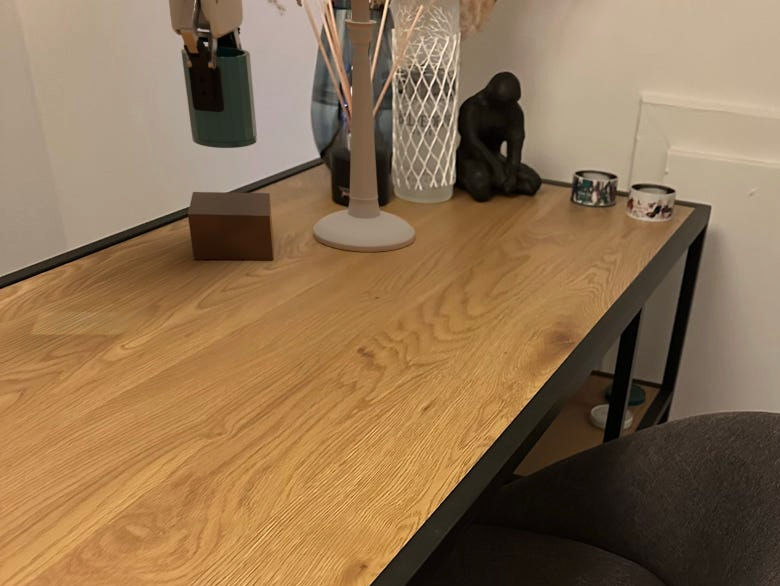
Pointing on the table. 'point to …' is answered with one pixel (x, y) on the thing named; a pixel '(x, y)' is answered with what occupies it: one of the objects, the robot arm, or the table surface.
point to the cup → (226, 103)
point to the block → (231, 226)
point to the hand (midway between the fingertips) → (220, 101)
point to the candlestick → (362, 163)
